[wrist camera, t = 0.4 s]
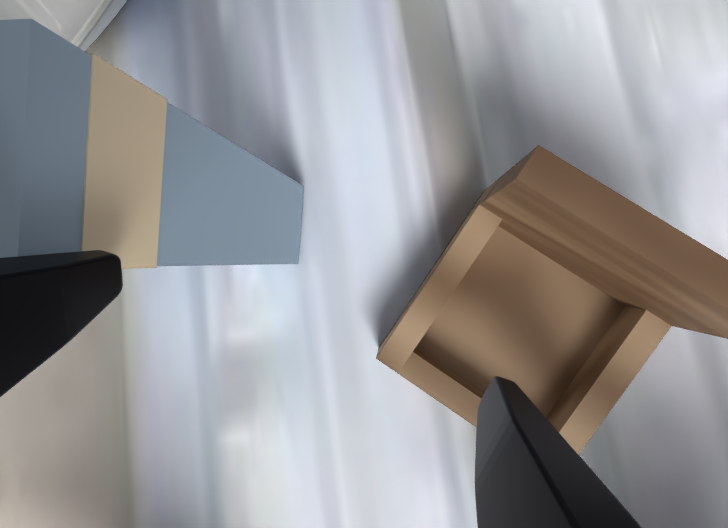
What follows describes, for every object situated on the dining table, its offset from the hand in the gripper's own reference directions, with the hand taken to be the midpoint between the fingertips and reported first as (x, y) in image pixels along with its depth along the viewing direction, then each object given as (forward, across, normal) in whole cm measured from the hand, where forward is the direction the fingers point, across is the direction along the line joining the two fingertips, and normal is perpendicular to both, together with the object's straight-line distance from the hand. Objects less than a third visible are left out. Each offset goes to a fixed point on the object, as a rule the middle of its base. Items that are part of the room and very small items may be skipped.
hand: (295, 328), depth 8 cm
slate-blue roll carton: (+14, +7, +4) cm, 17 cm away
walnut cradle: (+14, -10, +5) cm, 18 cm away
